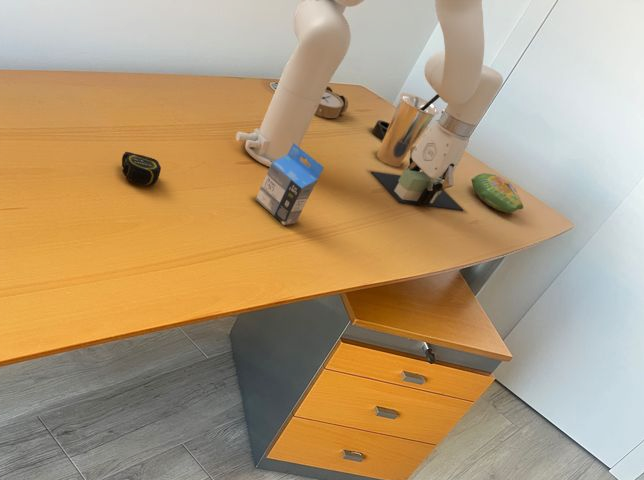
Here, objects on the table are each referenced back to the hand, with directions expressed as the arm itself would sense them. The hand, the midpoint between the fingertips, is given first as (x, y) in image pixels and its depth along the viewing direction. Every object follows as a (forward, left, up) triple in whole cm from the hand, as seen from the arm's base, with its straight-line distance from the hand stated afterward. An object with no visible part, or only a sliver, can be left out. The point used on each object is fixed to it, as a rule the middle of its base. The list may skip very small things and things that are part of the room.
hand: (414, 194), depth 162 cm
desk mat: (+4, +4, -1) cm, 5 cm away
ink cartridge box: (-44, -12, -1) cm, 46 cm away
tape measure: (-71, -5, -1) cm, 71 cm away
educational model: (+29, +4, -1) cm, 29 cm away
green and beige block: (0, 0, -1) cm, 1 cm away
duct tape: (+12, +33, -1) cm, 35 cm away
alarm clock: (-2, +44, -1) cm, 44 cm away
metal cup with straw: (+5, +18, -1) cm, 18 cm away
